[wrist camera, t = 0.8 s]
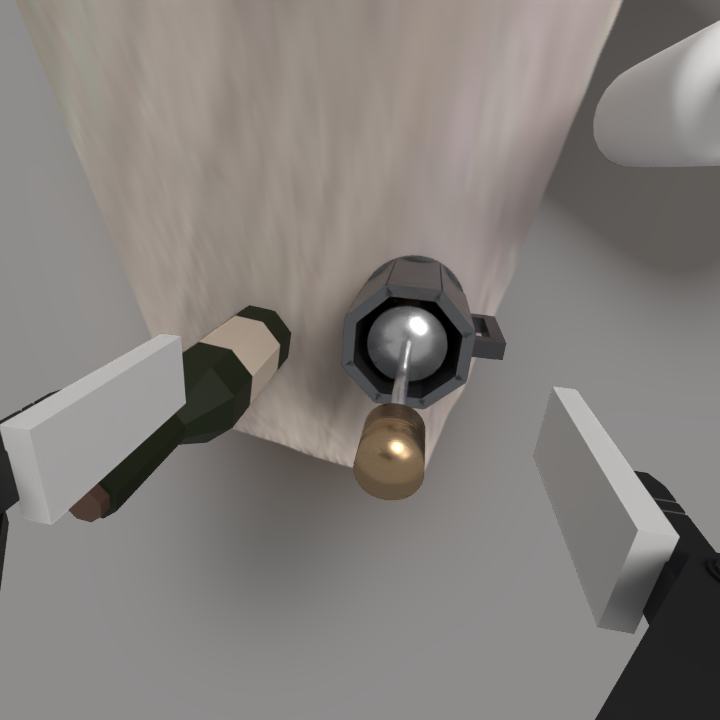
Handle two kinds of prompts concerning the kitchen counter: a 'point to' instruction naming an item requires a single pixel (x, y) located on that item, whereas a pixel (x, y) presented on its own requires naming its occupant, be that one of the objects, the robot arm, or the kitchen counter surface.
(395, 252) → the kitchen counter surface
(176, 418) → the wine bottle
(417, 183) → the kitchen counter surface
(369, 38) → the kitchen counter surface
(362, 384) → the dark grey mug
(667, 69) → the white rounded cylinder
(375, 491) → the plunger
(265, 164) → the kitchen counter surface
